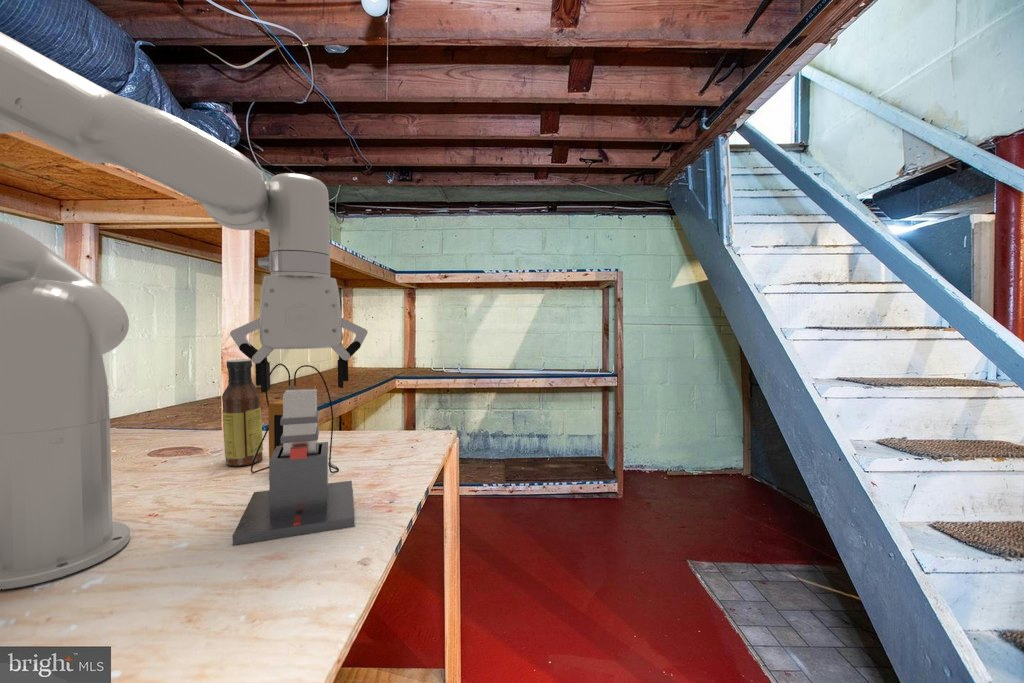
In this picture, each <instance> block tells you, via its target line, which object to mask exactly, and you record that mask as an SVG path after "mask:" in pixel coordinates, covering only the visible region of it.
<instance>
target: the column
mask: <svg viewBox="0 0 1024 683" xmlns="http://www.w3.org/2000/svg"><path fill="white" fill-rule="evenodd" d="M317 398H318V389H317V388H313V389H312V388H311V389H296V390H294V389H291V390H288V389H286V390H285V391H284V393H283V394H282V400H283V416H282V418H281V419H280V425H283V434H282V436H281V438H280V439H281V443H283V451H282V454H281V458H287V457H290V448H291V447H300V446H307V456H309V455H318V454H319V443H320V442H318V441H319V435H320V426H318V423H319V419H320V410H318V399H317ZM317 443H318V444H317Z"/></svg>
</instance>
